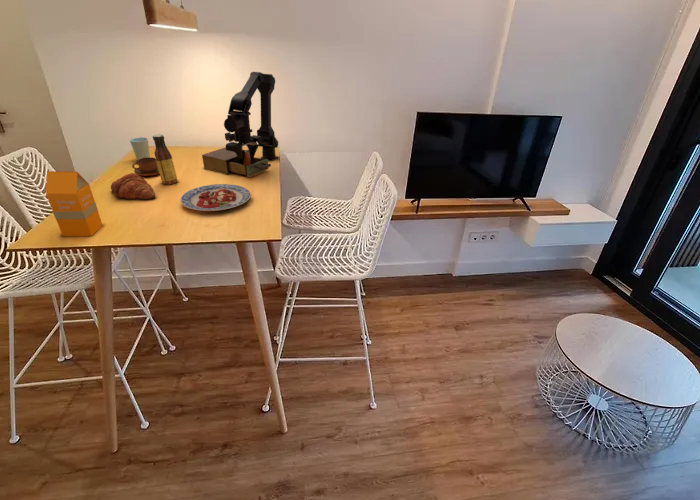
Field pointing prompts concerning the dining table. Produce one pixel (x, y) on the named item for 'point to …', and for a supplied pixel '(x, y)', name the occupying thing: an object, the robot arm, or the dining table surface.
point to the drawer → (251, 170)
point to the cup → (140, 147)
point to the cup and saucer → (146, 167)
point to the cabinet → (218, 160)
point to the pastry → (132, 187)
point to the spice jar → (247, 158)
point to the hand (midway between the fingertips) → (246, 162)
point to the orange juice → (72, 203)
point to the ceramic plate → (215, 197)
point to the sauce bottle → (164, 161)
